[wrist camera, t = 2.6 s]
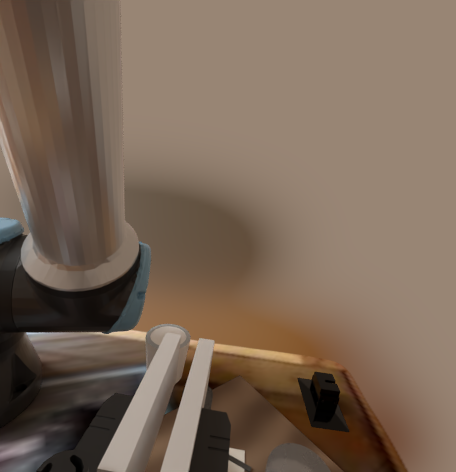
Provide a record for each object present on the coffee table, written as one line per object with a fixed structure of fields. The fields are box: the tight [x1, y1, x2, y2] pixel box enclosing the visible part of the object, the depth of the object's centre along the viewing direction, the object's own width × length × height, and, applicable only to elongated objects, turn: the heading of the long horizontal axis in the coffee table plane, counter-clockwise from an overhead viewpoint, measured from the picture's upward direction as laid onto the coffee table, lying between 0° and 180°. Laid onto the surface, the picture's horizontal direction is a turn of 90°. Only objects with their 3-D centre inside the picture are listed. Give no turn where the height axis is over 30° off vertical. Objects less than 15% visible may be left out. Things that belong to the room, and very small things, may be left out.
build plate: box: [298, 372, 349, 432], centre depth 44 cm, size 12×7×5 cm, turn 178°
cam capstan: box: [182, 386, 331, 472], centre depth 26 cm, size 17×7×14 cm, turn 106°
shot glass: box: [146, 324, 190, 383], centre depth 45 cm, size 7×7×7 cm
